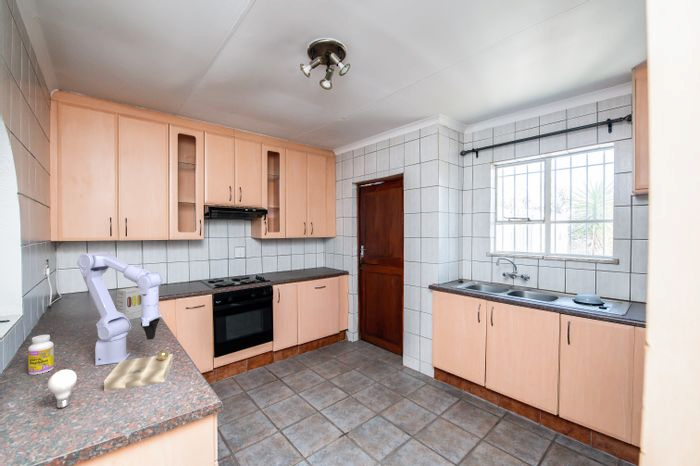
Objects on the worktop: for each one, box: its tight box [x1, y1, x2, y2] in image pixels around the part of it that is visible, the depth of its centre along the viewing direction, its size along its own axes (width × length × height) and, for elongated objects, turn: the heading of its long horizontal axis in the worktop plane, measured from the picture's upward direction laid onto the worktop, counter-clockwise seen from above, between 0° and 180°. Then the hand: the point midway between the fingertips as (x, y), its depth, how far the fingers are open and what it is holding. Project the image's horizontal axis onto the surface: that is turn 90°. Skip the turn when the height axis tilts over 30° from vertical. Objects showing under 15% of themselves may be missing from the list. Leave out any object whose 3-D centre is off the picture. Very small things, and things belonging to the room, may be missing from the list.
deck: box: [103, 353, 174, 392], centre depth 110 cm, size 17×16×4 cm
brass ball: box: [156, 349, 169, 360], centre depth 115 cm, size 4×4×4 cm
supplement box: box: [116, 286, 142, 321], centre depth 178 cm, size 10×9×17 cm
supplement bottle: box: [27, 334, 55, 376], centre depth 113 cm, size 7×7×13 cm
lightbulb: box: [47, 368, 78, 409], centre depth 91 cm, size 6×6×11 cm
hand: (150, 338), depth 120 cm, fingers closed
